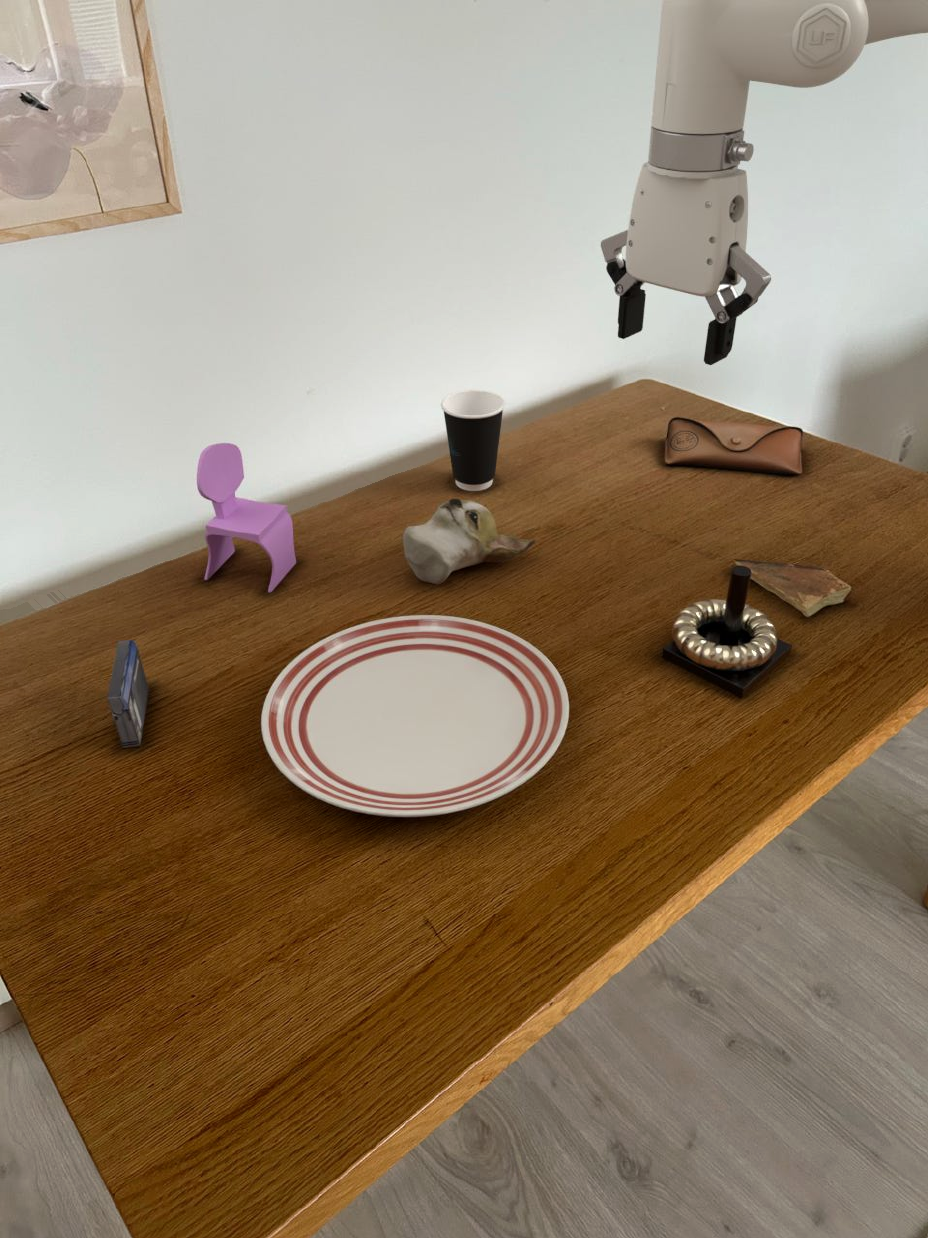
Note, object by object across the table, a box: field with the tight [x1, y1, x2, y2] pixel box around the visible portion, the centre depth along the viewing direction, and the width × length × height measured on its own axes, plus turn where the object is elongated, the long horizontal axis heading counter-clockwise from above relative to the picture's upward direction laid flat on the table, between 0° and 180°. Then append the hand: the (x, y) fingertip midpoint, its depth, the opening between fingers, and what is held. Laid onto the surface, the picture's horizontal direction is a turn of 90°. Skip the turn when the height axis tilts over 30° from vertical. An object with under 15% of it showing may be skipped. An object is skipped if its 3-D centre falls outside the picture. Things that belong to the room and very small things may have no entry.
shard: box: [733, 558, 852, 618], centre depth 106 cm, size 11×8×2 cm
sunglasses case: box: [664, 416, 804, 475], centre depth 130 cm, size 18×7×7 cm
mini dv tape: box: [107, 639, 150, 749], centre depth 89 cm, size 8×2×6 cm, turn 9°
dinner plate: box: [260, 614, 570, 818], centre depth 89 cm, size 28×27×3 cm
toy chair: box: [196, 442, 297, 593], centre depth 106 cm, size 8×9×15 cm
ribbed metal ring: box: [671, 598, 779, 671], centre depth 96 cm, size 10×10×2 cm
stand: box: [661, 565, 793, 699], centre depth 94 cm, size 9×9×10 cm
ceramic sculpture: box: [402, 498, 536, 585], centre depth 109 cm, size 11×9×15 cm
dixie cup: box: [440, 389, 507, 492], centre depth 123 cm, size 8×8×11 cm
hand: (671, 347), depth 93 cm, fingers open, 9 cm apart
